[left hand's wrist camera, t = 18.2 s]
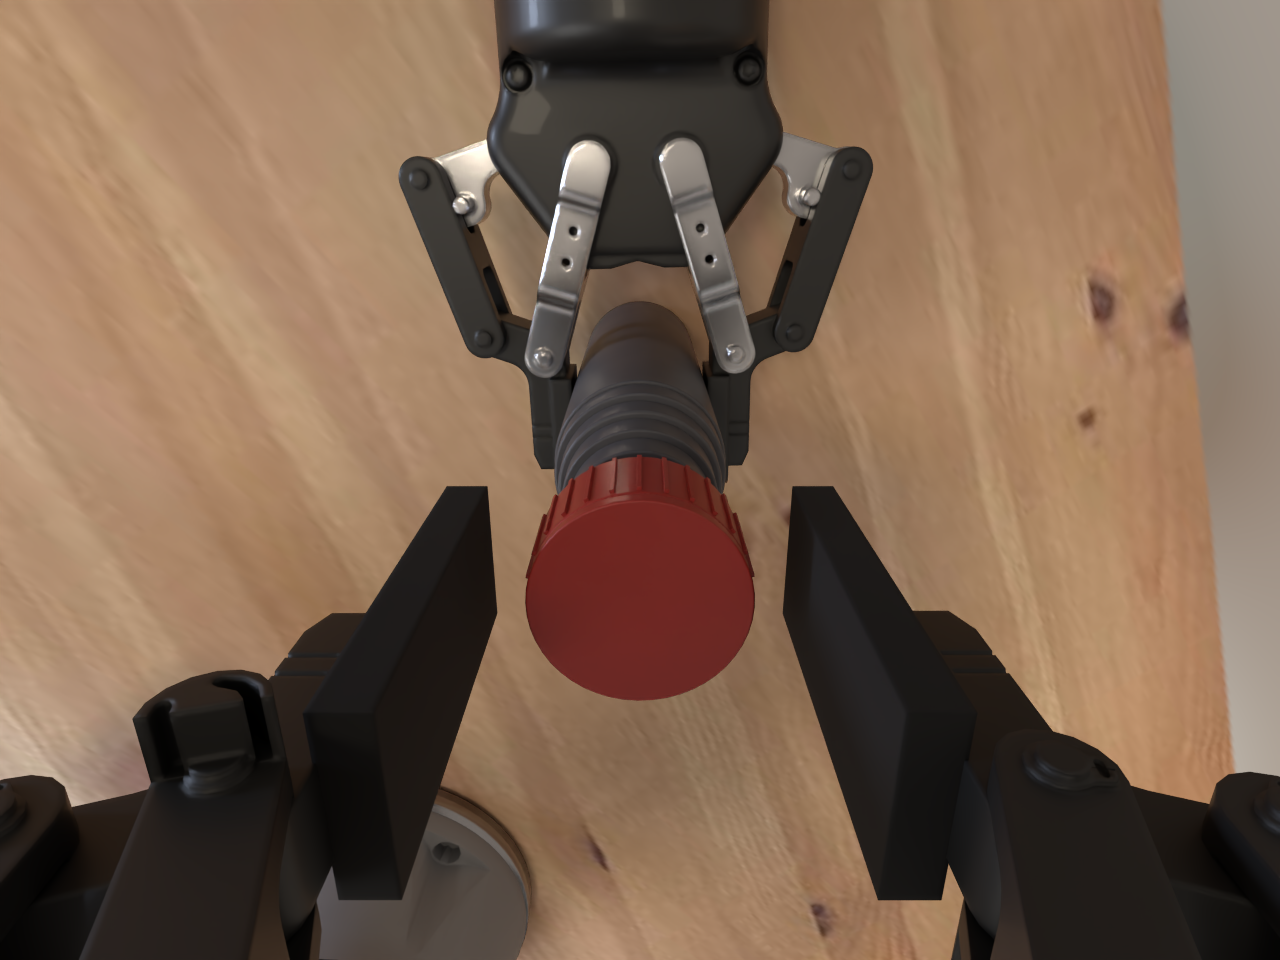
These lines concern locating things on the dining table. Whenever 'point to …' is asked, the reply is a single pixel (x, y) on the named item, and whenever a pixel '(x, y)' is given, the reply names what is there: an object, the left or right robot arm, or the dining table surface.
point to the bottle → (640, 398)
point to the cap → (640, 580)
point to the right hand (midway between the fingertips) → (642, 474)
